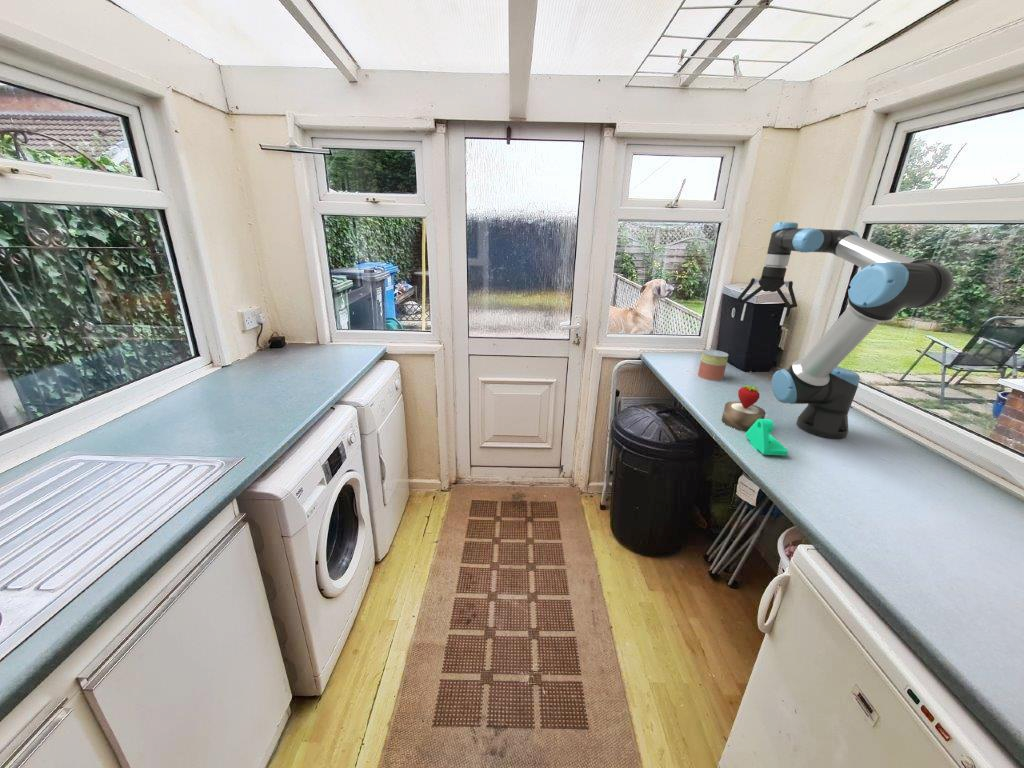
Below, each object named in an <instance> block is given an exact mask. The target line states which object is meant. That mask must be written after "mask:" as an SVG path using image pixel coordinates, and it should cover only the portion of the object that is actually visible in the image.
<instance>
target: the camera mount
mask: <svg viewBox="0 0 1024 768" xmlns="http://www.w3.org/2000/svg"><path fill="white" fill-rule="evenodd" d="M774 426H775V425H774V421H773V420H772V419H769V418H764V419H758V420H757V421H756V422H755V423H754V424H753V425H752V426H751V427H750V429H749V430H748V431H745V438H747V440H749V445H750V446H751V445H752V446H753V447H754V448H755V449H756V450H757V451H756V450H755V449H754V448H753V447H752V448H753V449H754V450H755V451H756V452H759V453H761V454H762V455H768V456H769V455H770V456H785V457H786V456H787V454H788V451H789V450H788V449H787V448H786V447H785V446H784V445H783V444H782V443H781V442H780V441H778V440H777V439H776V437H774V436H773V435H772V434H771V433H773V431H774V428H775V427H774ZM758 450H759V451H758Z"/></svg>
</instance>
